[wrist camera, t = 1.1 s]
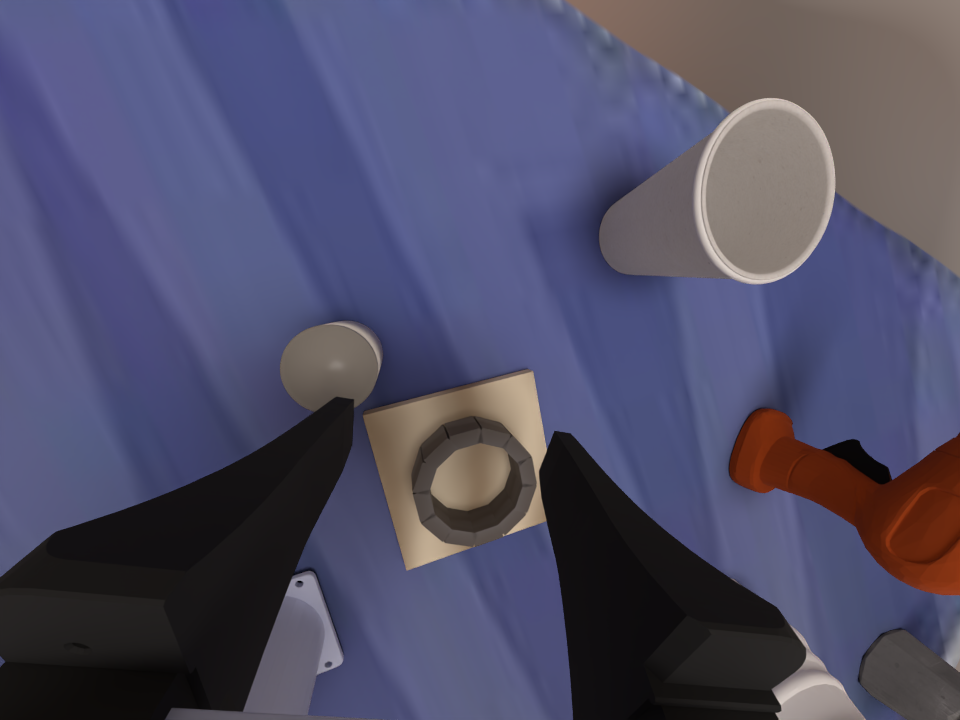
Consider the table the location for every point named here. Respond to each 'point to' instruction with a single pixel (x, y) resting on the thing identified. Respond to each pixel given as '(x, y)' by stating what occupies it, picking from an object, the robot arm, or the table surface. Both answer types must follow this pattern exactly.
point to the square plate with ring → (460, 465)
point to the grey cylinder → (331, 364)
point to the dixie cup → (730, 202)
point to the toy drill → (865, 496)
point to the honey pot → (813, 693)
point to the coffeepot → (910, 678)
